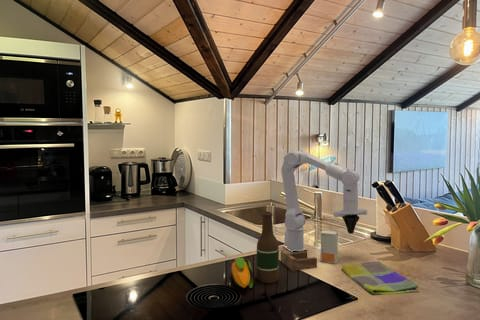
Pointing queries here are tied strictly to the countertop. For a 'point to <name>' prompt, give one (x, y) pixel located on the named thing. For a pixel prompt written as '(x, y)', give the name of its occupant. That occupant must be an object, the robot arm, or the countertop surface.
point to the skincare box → (329, 246)
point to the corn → (242, 273)
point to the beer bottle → (267, 252)
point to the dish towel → (379, 278)
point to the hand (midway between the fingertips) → (350, 233)
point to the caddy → (298, 260)
